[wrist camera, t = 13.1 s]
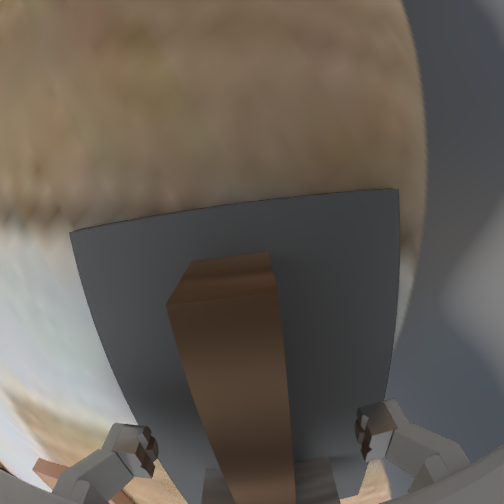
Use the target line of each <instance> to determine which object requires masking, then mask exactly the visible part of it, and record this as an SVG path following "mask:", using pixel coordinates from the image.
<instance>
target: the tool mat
mask: <svg viewBox="0 0 504 504" xmlns="http://www.w3.org/2000/svg"><path fill="white" fill-rule="evenodd" d="M70 238H71V243H72V247H73V251H74V256H75V260H76V264H77V268H78V271H79V275H80V279H81V282H82V286H83V289H84V293H85V296H86V299H87V302H88V306H89V309H90V312H91V315H92V318H93V321H94V324H95V327H96V329H97V332H98V335H99V338H100V340H101V343H102V346H103V348H104V351H105V353H106V356H107V358H108V361H109V363H110V365H111V368H112V370H113V373H114V375H115V377H116V379H117V382H118V384H119V386H120V388H121V390H122V393H123V395H124V397H125V399H126V401H127V403H128V405H129V407H130V409H131V411H132V413H133V415H134V417H135V419H136V421H137V423H138V425H139V426H148V427H149V428H150V430H151V431H152V433H151V436H152V437H154V438H155V439H156V441H157V443H158V447H159V454H158V460H159V461H160V463H161V464H162V466H163V468H164V469H165V471H166V472H167V474H168V475H169V477H170V478H171V480H172V481H173V483H174V484H175V486H176V487H177V489H178V490H179V491H180V493H181V494H182V496H183V497H184V498H185V500H186V501H187V503H188V504H201V500H202V492H203V483H204V474H205V469H220V467H219V464H218V462H217V460H216V457H215V455H214V452H213V450H212V447H211V445H210V442H209V440H208V437H207V435H206V432H205V429H204V427H203V424H202V421H201V419H200V416H199V413H198V410H197V407H196V405H195V402H194V399H193V396H192V393H191V390H190V387H189V384H188V381H187V378H186V375H185V372H184V368H183V365H182V362H181V359H180V355H179V352H178V349H177V345H176V342H175V338H174V335H173V331H172V328H171V324H170V320H169V317H168V313H167V309H166V305H165V304H166V303H167V301H168V299H169V298H170V296H171V294H172V293H173V291H174V289H175V288H176V286H177V284H178V283H179V281H180V279H181V278H182V276H183V274H184V273H185V271H186V269H187V268H188V266H189V264H190V263H191V261H198V260H206V259H213V258H221V257H229V256H237V255H245V254H252V253H260V252H268V253H269V257H270V261H271V265H272V269H273V273H274V277H275V281H276V285H277V289H278V294H279V304H280V314H281V324H282V334H283V344H284V354H285V365H286V376H287V387H288V399H289V411H290V423H291V436H292V449H293V463H296V462H302V461H309V460H314V459H320V458H325V457H329V460H330V464H331V468H332V472H333V476H334V480H335V484H336V488H337V492H338V496H339V499H343V498H347V497H351V496H355V495H358V493H359V490H360V487H361V484H362V481H363V478H364V475H365V472H366V469H367V465H368V462H369V461H368V462H365V461H364V458H363V455H362V453H361V446H362V444H360V443H358V442H357V439H356V435H355V421H356V420H357V419H358V417H357V415H356V412H357V409H358V408H359V407H363V406H367V405H370V404H374V403H378V402H382V401H384V397H385V392H386V387H387V382H388V375H389V370H390V364H391V357H392V350H393V342H394V334H395V325H396V315H397V303H398V288H399V267H400V210H399V189H393V188H391V189H376V190H362V191H349V192H337V193H326V194H315V195H305V196H295V197H286V198H277V199H268V200H260V201H252V202H244V203H236V204H228V205H221V206H214V207H207V208H200V209H193V210H186V211H180V212H173V213H167V214H161V215H155V216H149V217H143V218H137V219H132V220H126V221H120V222H115V223H110V224H104V225H99V226H94V227H89V228H84V229H79V230H75V231H73V232H70Z"/></svg>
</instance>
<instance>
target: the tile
mask: <svg viewBox="0 0 504 504" xmlns="http://www.w3.org/2000/svg"><path fill="white" fill-rule="evenodd" d="M67 469H69V467H66V466H62V465H59V464H56V463H52V462H49V461H46V460H43V459H40V458H39V459H38V461H37V462H36V464H35V466H34V468H33V469H32V470H33V471H34V472H35V473H36V474H37V475H38V476H39V477H40V478H41V479H42V480H43V481H44V482H45V483H46V484H47V485H48V486H49V487H50V488H51V489H52V490H53V489H54V487H55V485H56V483H57V481H58V479H59V477H60V475H61V473H62V472H64V471H65V470H67ZM108 502H109V503H110V504H134V503H133V502H132V501H131V500H130V499H129V498H128V497H127V496H126V495H125V494H124V493H123V492H122V491H121V490H120V491H119V492H118V493H117V494H116V495H115V496H114V497H113V498H112V499H111V500H109V501H108Z"/></svg>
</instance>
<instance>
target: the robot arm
mask: <svg viewBox="0 0 504 504" xmlns="http://www.w3.org/2000/svg"><path fill="white" fill-rule="evenodd" d="M356 415H357V417H358V419H357V420H356V421H355V435H356V439H357V442H358V443H360V444H362V446H361V453H362V455H363V458H364V461H365V462H368V461H372V460H376V459H380V458H383V457H386V459H388V460H389V461H390V462H392V463H393V464H395V465H396V466H398V467H399V468H400V469H402V470H403V471H405V472H406V473H408V474H409V475H411V476H412V477H414V478H415V479H414V481H413V483H412V485H411V486H410V488H409V490H408V494H406V495H403V496H400V497H398V498H395V499H392V500H389V501H386V502H383V503H380V504H504V444H503V445H502V446H500V447H499V448H497V449H496V450H494V451H492V452H491V453H489V454H488V455H486V456H484V457H483V458H481V459H479V460H478V461H476V462H474V463H473V464H470V462H469V460H468V459H467V457H466V456H465V454H464V452H463V451H462V449H461V448H460V446H459V445H458V443H455V442H453V441H451V440H448V439H446V438H444V437H442V436H439V435H437V434H435V433H433V432H430V431H428V430H426V429H424V428H422V427H420V426H417V425H415V424H411V425H410V423H409V422H408V420H407V418H406V416H405V415H404V413H403V411H402V410H401V408H400V406H399V404H398V403H397V401H396V399H394V398H392V399H389V400H385V401H382V402H378V403H374V404H370V405H367V406H363V407H359V408H358V409H357V412H356ZM151 433H152V431H151V430H150V428H149V427H148V426H139V425H129V424H120V423H114V424H113V425H112V427H111V429H110V431H109V433H108V436H107V438H106V440H105V442H104V444H103V447H102V449H101V450H100V449H98V450H96V451H95V452H93V453H92V454H90V455H89V456H87V457H86V458H84V459H83V460H81V461H80V462H78V463H76V464H75V465H73V466H72V467H70V468H69V469H67V470H65V471H64V472H62V473H61V475H60V477H59V479H58V481H57V483H56V485H55V487H54V489H53V491H52V493H50V492H47V491H45V490H42V489H40V488H38V487H35V486H33V485H31V484H29V483H27V482H25V481H22V480H20V479H18V478H16V477H14V476H12V475H10V474H8V473H7V472H5V471H3V470H1V469H0V504H110V503H109V502H108V501H109V500H111V499H112V498H113V497H114V496H115V495H116V494H117V493H118V492H119V491H120V490H121V489H122V488H123V487H124V486H125V485H126V484H127V483H129V482H130V481H131V480H132V479H133V478H134V477H142V478H152V477H153V473H154V469H155V465H154V464H153V462H154V461H155V460H156V459H157V458H158V454H159V447H158V443H157V441H156V439H155V438H154V437H152V436H151Z"/></svg>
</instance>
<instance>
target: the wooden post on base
mask: <svg viewBox="0 0 504 504" xmlns="http://www.w3.org/2000/svg"><path fill="white" fill-rule="evenodd" d="M165 305H166V309H167V313H168V317H169V320H170V324H171V328H172V331H173V335H174V338H175V342H176V345H177V349H178V352H179V355H180V359H181V362H182V365H183V368H184V372H185V375H186V378H187V381H188V384H189V387H190V390H191V393H192V396H193V399H194V402H195V405H196V407H197V410H198V413H199V416H200V419H201V421H202V424H203V427H204V429H205V432H206V435H207V437H208V440H209V442H210V445H211V447H212V450H213V452H214V455H215V457H216V460H217V462H218V464H219V467H220V469H205V474H204V483H203V492H202V500H201V504H340V500H339V496H338V492H337V488H336V484H335V480H334V476H333V472H332V468H331V464H330V460H329V457H325V458H320V459H314V460H309V461H302V462H296V463H293V449H292V436H291V423H290V411H289V399H288V387H287V376H286V365H285V354H284V344H283V334H282V324H281V314H280V304H279V294H278V289H277V285H276V281H275V277H274V273H273V269H272V265H271V261H270V257H269V253H268V252H260V253H252V254H245V255H237V256H229V257H221V258H213V259H206V260H198V261H191V263H190V264H189V266H188V268H187V269H186V271H185V273H184V274H183V276H182V278H181V279H180V281H179V283H178V284H177V286H176V288H175V289H174V291H173V293H172V294H171V296H170V298H169V299H168V301H167V303H166V304H165Z"/></svg>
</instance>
